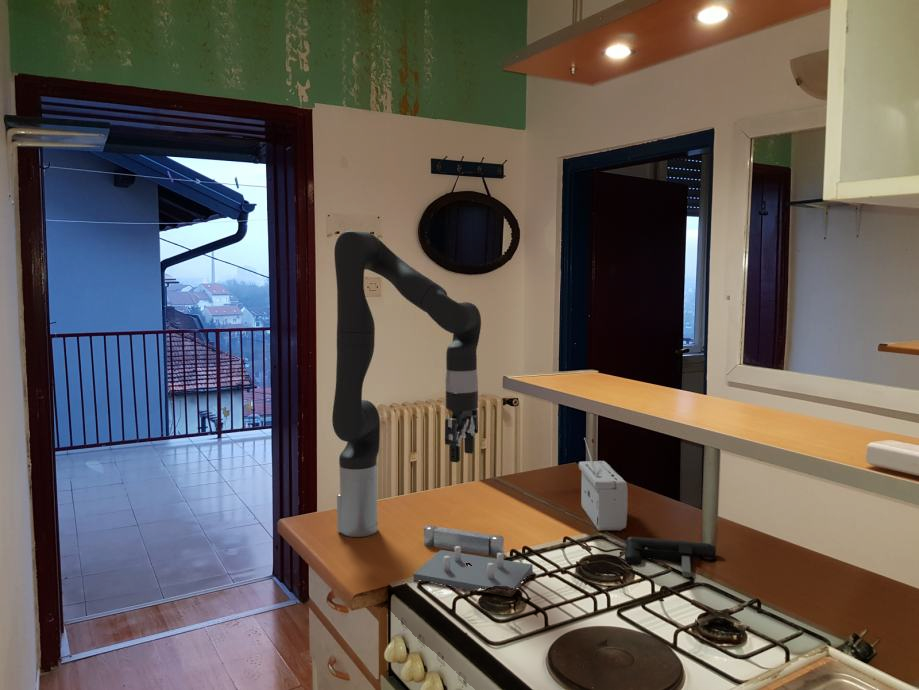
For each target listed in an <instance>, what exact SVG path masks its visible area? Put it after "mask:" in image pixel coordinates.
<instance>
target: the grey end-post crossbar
mask: <svg viewBox="0 0 919 690" xmlns="http://www.w3.org/2000/svg"><path fill="white" fill-rule="evenodd" d="M504 539H505V538H504V536H503V535H499V534H494V535H493V534H489V533H484V532H483V533H481V532H475V531H470V530H469V531H468V530H461V529H456V528H448V527H442V526H438V527H437V526H436V525H426V526H424V527H423V545H424V546H425V547H434V548H440V549H445V550H446V549H447V550H452V551H455V547H456V546H460V547H461V552H466V553H471V554H477V555H478V554H479V555H485V556H489V555H490V556H491V557H492V558H497V553H503V556H504V554H505V553H504V552H505V551H504V549H505V548H504V545H505V543H504Z"/></svg>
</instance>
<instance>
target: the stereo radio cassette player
mask: <svg viewBox="0 0 919 690" xmlns="http://www.w3.org/2000/svg"><path fill="white" fill-rule="evenodd" d="M583 440H584V441H585V447H586V449H587V452H588V457H589V460H590V461H589V460H588V461H586V460H585V461H579V462H578V469H579V470H580V471H581V492H580V493H581V494H580V495H581V500H580V501H581V508H582V509H583V510H584V513H586V514H587V516H588V517H589V519H590V520H591V522H592V524H594V526H595V528H596V529H597V530H598V531H618V532H619V531H623V529H626V528H627V520H628V503H629V501H628V499H629V498H628V483H627V481H625V480H624V478H623V477H622V476H621V475H619V473H618V472H617V471H616V470H615V469H614V468H612V467H611V465H610V464H608V463H607V462H606V461H605V460H593V459H592V458H593V457H592V455H591V452H590V449H589V446H588V443H587V440H586V437H584V438H583Z"/></svg>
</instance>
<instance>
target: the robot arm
mask: <svg viewBox="0 0 919 690" xmlns="http://www.w3.org/2000/svg"><path fill="white" fill-rule="evenodd" d="M333 253H334V265H335V267H334V269H335V277H336V279H335V280H336V291H337V292H336V293H337V294H336V296H337V298H336V299H337V301H336V303H337V304H336V306H337V309H336V312H337V318H336V319H337V320H336V323H337V324H336V370H335V372H336V375H335V376H336V377H335V390H334V391H335V392H334V397H333V398H334V401H333V407H332V415H331V416H332V418H331V420H332V421H331V423H332V428H333V430H334V431H333V432H334V433H335V435H336V436H337V438H338V439H340V440H341V441H343V442H347V443H346V445H345V447H344V449H343V450H342V452H341V453H340V454H339V459H338V461H339V463H338V464H339V489H340V490H339V494H337V496H336V512H337V515H336V516H337V532H338V533H341V534H342V535H344V536H346V537H350V538H351V537H353V538H361V537H362V538H363V537H368V536H371V535H374V534H376V533H377V532H378V528H379V527H378V524H379V522H378V487H377V486H378V485H377V484H378V479H377V478H378V477H377V474H378V473H377V471H378V470H377V457H378V454H379V451H380V440H381V439H380V438H381V437H380V431H381V430H380V429H381V423H380V422H381V421H380V420H381V418H380V414H379V411H378V409H377V407H376V405H375V404H373V402H371V401H369V400H364V399H363V385H364V381H365V378H366V375H367V374H368V373H367V372H368V370H369V368H370V365H371V362H372V359H373V356H374V353H375V352H374V351H375V342H376V341H375V336H376V335H375V331H376V330H375V329H376V328H375V326H376V325H375V320H374V317H373V314H372V313H373V312H372V311H371V309H370V308H371V307H370V306H369V303H368V299H367V298H366V293H365V282H364V281H365V271H366V270H368V271H370V272H373V273H375V274H377V275H379V276H381V277H383V278H384V279H386V280H387V281H388V282H389V283H390V284H392V285H393V286H394V288H395V289H396V290H397V292H398V293H399V294H400V295H401V296H402V297H403V298H404V299H405V300H407V301H408V302H410V303H411V304H412V305H414V306H416V307H417V308H419V310H422V311H423V312H425V313H426V314H427V315H428V316H429V317H430V318H431V319H432V320H433V321H434V322H435V323H436V324H437V325H438V326H439V327H441V328H442V329H443V330H445V331H447V332H448V333H451V334H452V342H451V343H450V344H449V345H448V346H447V348H446V353H445V354H446V355H445V357H446V359H445V360H446V361H445V362H446V364H445V365H446V367H445V368H446V372H445V408H446V410H447V411H450V412H451V417H450V418H448V417H447V418H445V423H444V444H445V445H446V446H449V462H450V463H459V462H460V461H461V441H462V439H463V438H464V446H463V447H464V449H463V450H464V453H465V454H470V455H471V454H473V453H475V438H476V434H478V433H479V416H478V415H479V413H478V408H479V380H478V379H479V377H478V372H477V371H478V369H477V368H478V367H477V365H478V364H477V363H478V362H477V360H478V359H477V349H478V344H479V342H480V341H479V340H480V335H481V329H482V317H481V312H480V310H479V308H478V307H477V306H476V305H475V304H474V303H471V302H467V301H466V302H465V301H464V302H458V301H456V300H453V298H451V297H450V296H448V291H446V290H445V288H444V287H442V286H441V285H439V284H438V283H437V282H435V281H433V280H432V279H430V278H428V277H427V276H425V275H424V274H422V273H421V272H420V271H417V270H416V269H415V268H413V266H410V265H409V264H408V263H406V262H405V261H404V260H402V258H400V257H399V256H398V255H396V253H394V252H393V251H392V250H391V249H390V248H389V247H387V245H386V244H385V243H384V242H383V241H381V239H379V238H378V237H377V236H375V235H374V234H373V233H370V232H367V231H357V230H345V231H343V232H342V233H341V234H340V235H338V238H337V239H336V241H335V245H334V251H333Z"/></svg>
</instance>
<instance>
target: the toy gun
mask: <svg viewBox="0 0 919 690" xmlns="http://www.w3.org/2000/svg"><path fill="white" fill-rule="evenodd" d="M707 543H708V542H694V541H686V540H684V541H683V540H673V539H672V540H671V539H661V538H653V537H639V536H628V538H626V540H625V551H626V553H624V561H626V562H628V563H629V565H633V566H635V565H637V566H638V565H641V564H642V561H643V559H644V558H651V559H650V560H653V559H655V560H656V561H665V562H673V563H674V562H675V563H681V571H682V572H681V573H682V574H681V575H682V578H689V577H691V575H692V574H691V564H693V556H695V557H706V558H711V557H716V552H717V551H716V550H717V549H716V544H712V545H711V543H708V544H707ZM642 548H643V549H642ZM626 562H625V563H626ZM628 563H627V564H628ZM691 578H692V577H691Z"/></svg>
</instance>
